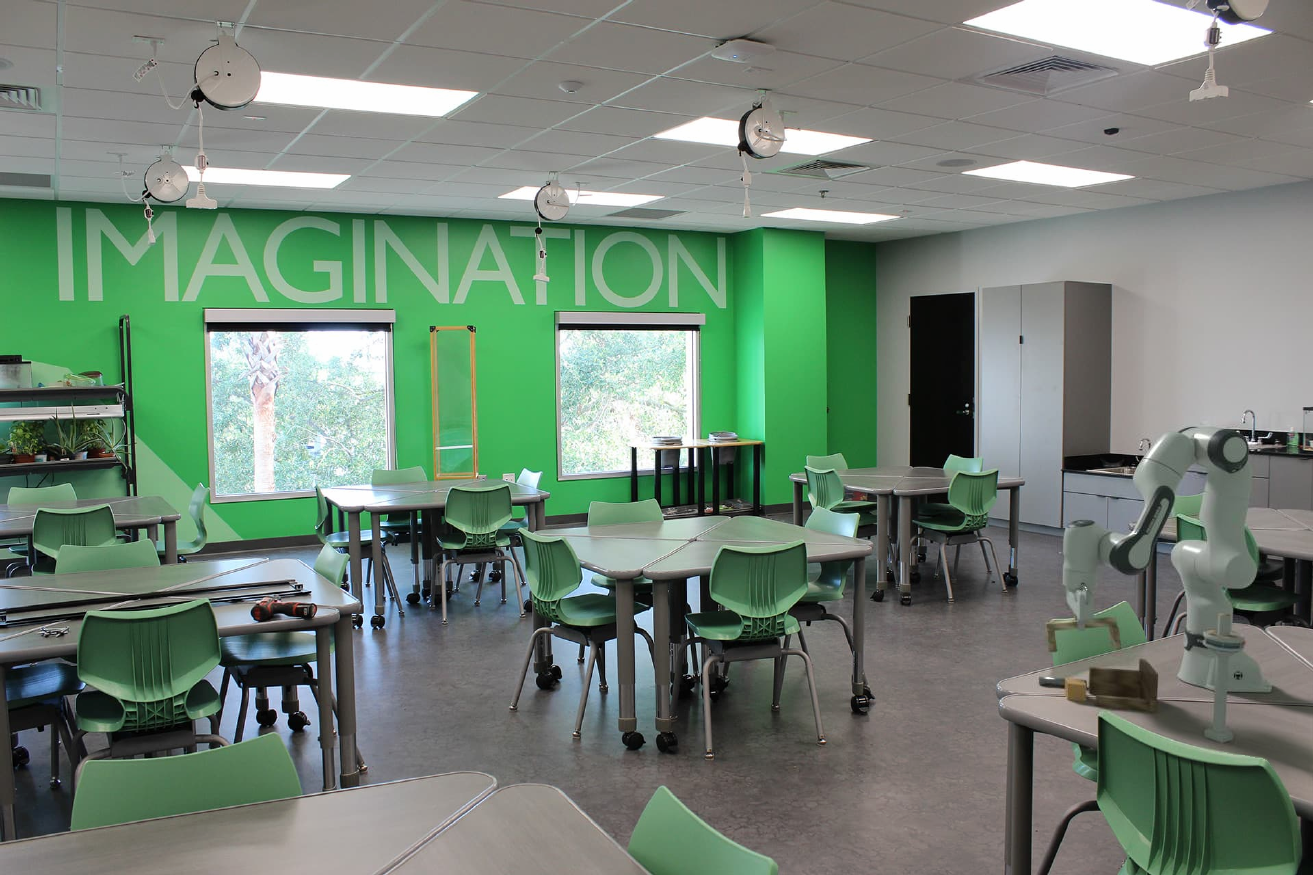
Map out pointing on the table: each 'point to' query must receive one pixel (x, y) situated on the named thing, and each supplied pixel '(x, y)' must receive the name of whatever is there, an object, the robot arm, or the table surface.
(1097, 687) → the walnut cubby
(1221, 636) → the model tower
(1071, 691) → the orange cube
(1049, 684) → the dark metal rod
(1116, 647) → the beech crook
